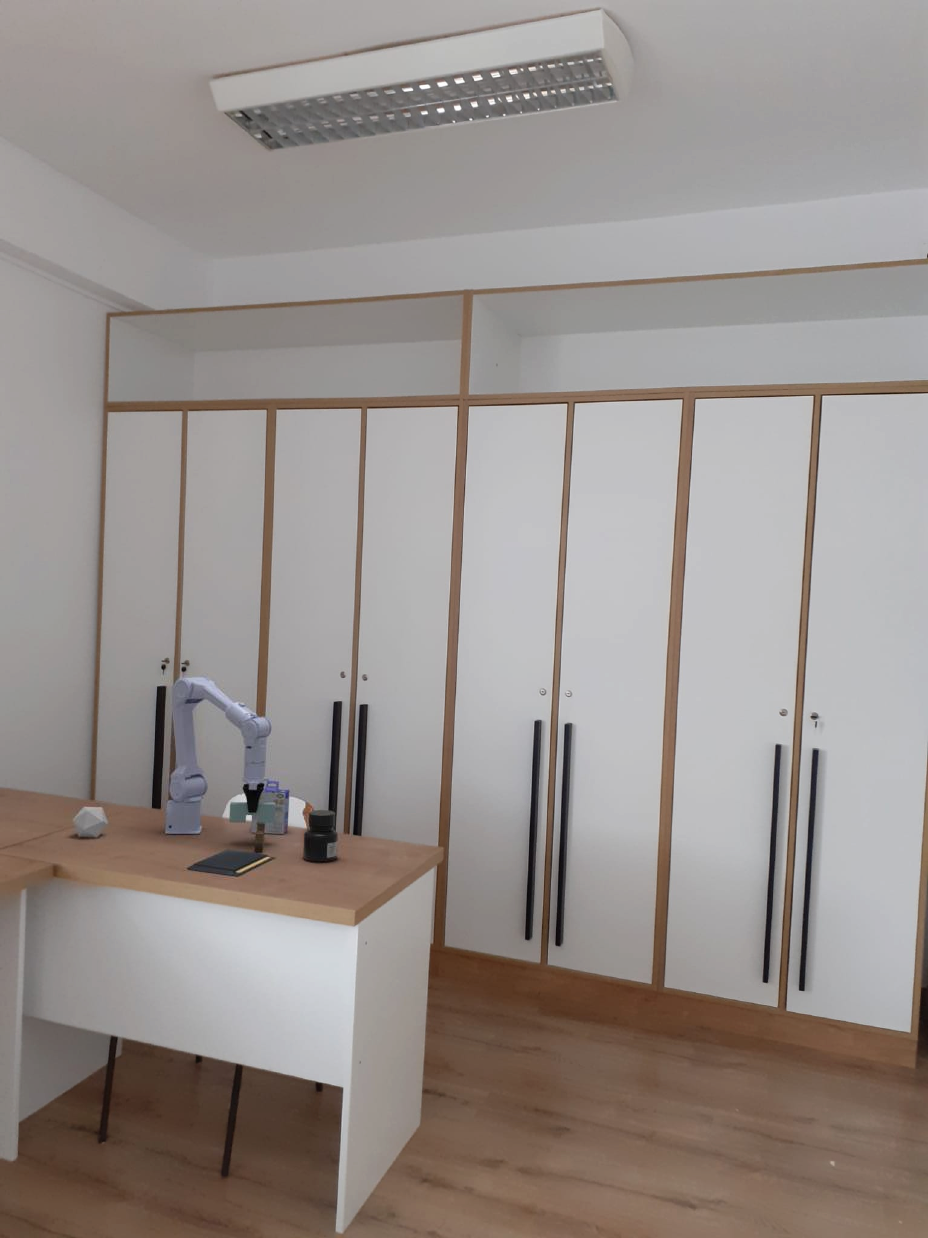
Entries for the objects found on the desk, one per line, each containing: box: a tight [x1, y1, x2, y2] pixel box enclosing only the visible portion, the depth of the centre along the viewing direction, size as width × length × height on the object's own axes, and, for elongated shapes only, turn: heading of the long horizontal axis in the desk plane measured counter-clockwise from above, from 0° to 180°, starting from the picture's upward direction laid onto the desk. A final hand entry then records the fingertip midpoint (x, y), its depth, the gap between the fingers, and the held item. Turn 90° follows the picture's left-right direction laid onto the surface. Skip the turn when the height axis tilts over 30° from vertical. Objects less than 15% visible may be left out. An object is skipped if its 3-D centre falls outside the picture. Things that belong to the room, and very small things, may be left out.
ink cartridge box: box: [250, 780, 290, 835], centre depth 273 cm, size 10×6×14 cm, turn 89°
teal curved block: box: [228, 801, 275, 824], centre depth 258 cm, size 12×2×5 cm, turn 100°
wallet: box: [186, 848, 277, 878], centre depth 238 cm, size 20×2×15 cm
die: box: [72, 806, 109, 839], centre depth 258 cm, size 8×9×10 cm
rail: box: [254, 821, 266, 854], centre depth 256 cm, size 15×2×5 cm, turn 10°
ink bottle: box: [302, 809, 339, 863], centre depth 246 cm, size 10×9×12 cm
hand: (252, 811), depth 258 cm, fingers closed on teal curved block, 2 cm apart
